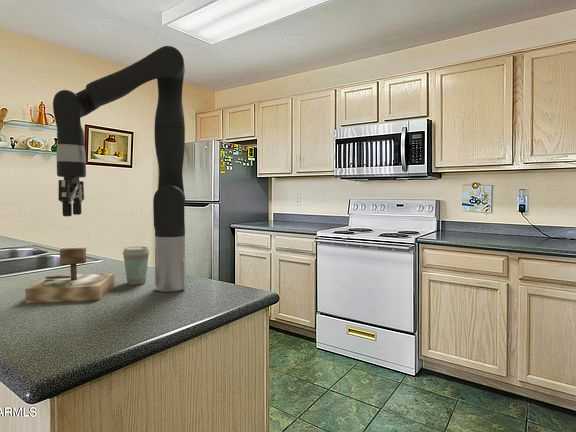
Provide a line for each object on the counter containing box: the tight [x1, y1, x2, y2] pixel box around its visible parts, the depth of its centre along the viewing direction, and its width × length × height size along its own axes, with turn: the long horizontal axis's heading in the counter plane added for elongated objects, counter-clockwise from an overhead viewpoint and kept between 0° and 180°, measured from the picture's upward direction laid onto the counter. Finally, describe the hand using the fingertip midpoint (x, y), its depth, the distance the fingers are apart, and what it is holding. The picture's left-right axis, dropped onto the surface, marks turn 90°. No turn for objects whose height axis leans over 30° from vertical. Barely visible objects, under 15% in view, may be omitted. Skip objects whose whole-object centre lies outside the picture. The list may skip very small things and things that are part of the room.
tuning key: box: [44, 247, 87, 280], centre depth 113 cm, size 11×2×9 cm, turn 102°
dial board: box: [25, 273, 115, 304], centre depth 114 cm, size 19×17×4 cm
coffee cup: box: [122, 246, 150, 286], centre depth 127 cm, size 8×8×12 cm
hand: (72, 215), depth 112 cm, fingers open, 8 cm apart
